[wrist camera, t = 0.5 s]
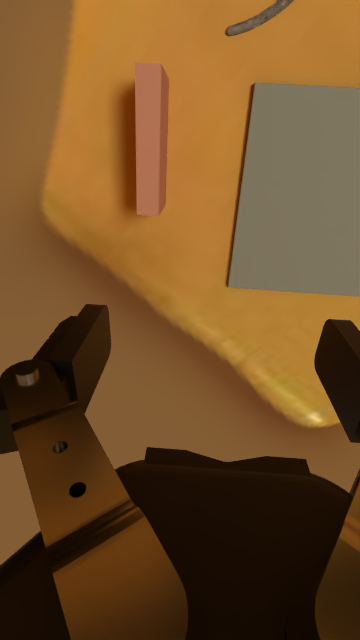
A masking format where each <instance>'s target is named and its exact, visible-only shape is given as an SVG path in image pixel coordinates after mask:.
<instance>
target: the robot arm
mask: <svg viewBox="0 0 360 640" xmlns="http://www.w3.org/2000/svg"><path fill="white" fill-rule="evenodd" d="M110 350H111V335H110V324H109V311H108V307H107V305H94V304H86V305H85V306H84V308H83V309H82V310H81V312H80V313H79V315H78V316H70V317H69V318H67V319H66V320H64V321H62V322H61V323H60V324H59V325H58V326H57V328H56V329H55V330H54V332H53V333H52V334H51V335H50V337H49V339H47V340H46V342H45V343H44V344H43V346H42V347H41V348H40V350H39V351H38V352H37V353H36V355H35V356H34V357H33V359H32V360H26V361H22V362H19V363H16V364H14V365H12V366H10V367H9V368H7V369H6V370H5V371H4V372H3V373H2V375H1V377H0V454H4V453H9V452H14V451H19V454H20V458H21V461H22V465H23V468H24V472H25V476H26V479H27V483H28V486H29V490H30V493H31V497H32V501H33V504H34V507H35V511H36V515H37V519H38V522H39V526H40V529H41V531H40V532H38V533H37V534H36V535H35V536H34V537H33V538H32V539H30V540H29V541H28V542H27V543H26V544H25V545H23V546H22V547H21V548H20V549H19V550H18V551H17V552H15V553H14V554H13V555H12V556H11V557H10V558H8V559H7V560H6V561H5V562H4V563H3V564H1V565H0V640H360V469H359V471H358V474H357V476H356V478H355V481H354V483H353V486H352V488H351V490H350V492H349V493H348V492H347V491H345V490H344V489H342V488H341V487H339V486H338V485H336V484H334V483H332V482H330V481H328V480H327V479H325V478H322V477H320V476H317V475H314V474H312V473H310V471H309V468H308V465H307V461H306V459H297V458H283V457H270V456H264V457H258V458H252V459H246V460H239V461H233V462H223V461H219V460H216V459H213V458H210V457H206V456H203V455H200V454H197V453H193V452H190V451H187V450H177V449H164V448H151V447H147V450H146V455H145V460H140V461H136V462H132V463H129V464H126V465H124V466H121V467H119V468H117V469H114V468H113V466H112V464H111V462H110V461H109V458H108V457H107V455H106V453H105V451H104V449H103V447H102V446H101V444H100V442H99V440H98V438H97V436H96V435H95V433H94V431H93V429H92V427H91V425H90V424H89V422H88V420H87V418H86V416H85V412H86V409H87V407H88V405H89V402H90V400H91V398H92V395H93V393H94V390H95V388H96V386H97V384H98V381H99V379H100V376H101V374H102V372H103V370H104V367H105V365H106V362H107V360H108V358H109V355H110ZM314 363H315V370H316V372H317V375H318V377H319V379H320V381H321V383H322V385H323V387H324V389H325V391H326V393H327V395H328V397H329V399H330V401H331V403H332V405H333V407H334V409H335V411H336V413H337V416H338V418H339V420H340V422H341V424H342V426H343V428H344V430H345V432H346V434H347V436H348V438H349V440H350V442H355V443H360V331H359V330H358V328H357V327H356V326H355V325H354V324H353V322H352V321H350V320H335V319H328V320H327V321H326V322H325V324H324V327H323V330H322V333H321V337H320V340H319V344H318V347H317V350H316V354H315V360H314Z"/></svg>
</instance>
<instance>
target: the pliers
mask: <svg viewBox="0 0 360 640" xmlns="http://www.w3.org/2000/svg"><path fill="white" fill-rule="evenodd" d="M292 1H293V0H277V1H276V2H275V3H274V4H273V5H272V6H270V7H269V8H267V9H266V10H264V11H263V12H262V13H260V14H259V15H257V16H255V17H253V18H251V19H249V20H246V21H244V22H241V23H238V24H235V25H232V26H230V27H228V28H227V30H226V35H228V36H232V35H237V34H240V33H243V32H246V31H249V30H251V29H253V28H255V27H257V26H260V25H261V24H263V23H265V22H266V21H268V20H269V19H271V18H273V17H274V16H276V15H277V14H278V13H279V12H281V11H282V10H283V9H285V8H286V7H287V6H288V5H289V4H290V3H291V2H292Z"/></svg>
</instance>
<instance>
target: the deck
mask: <svg viewBox="0 0 360 640" xmlns="http://www.w3.org/2000/svg"><path fill="white" fill-rule="evenodd" d="M168 97H169V78H168V76H167V74H166V72H165V70H164V68H163V66H162V65H161V64H149V63H135V113H136V194H137V215H145V216H159V215H160V213H161V211H162V210H163V208H164V206H165V203H166V167H167V132H168Z"/></svg>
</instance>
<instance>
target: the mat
mask: <svg viewBox="0 0 360 640" xmlns="http://www.w3.org/2000/svg"><path fill="white" fill-rule="evenodd" d="M228 287H231V288H245V289H259V290H274V291H288V292H302V293H316V294H331V295H345V296H360V88H348V87H329V86H310V85H291V84H272V83H255V84H254V90H253V97H252V105H251V112H250V120H249V128H248V135H247V143H246V150H245V158H244V166H243V173H242V181H241V188H240V196H239V204H238V211H237V219H236V226H235V234H234V242H233V249H232V257H231V265H230V272H229V280H228Z"/></svg>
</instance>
